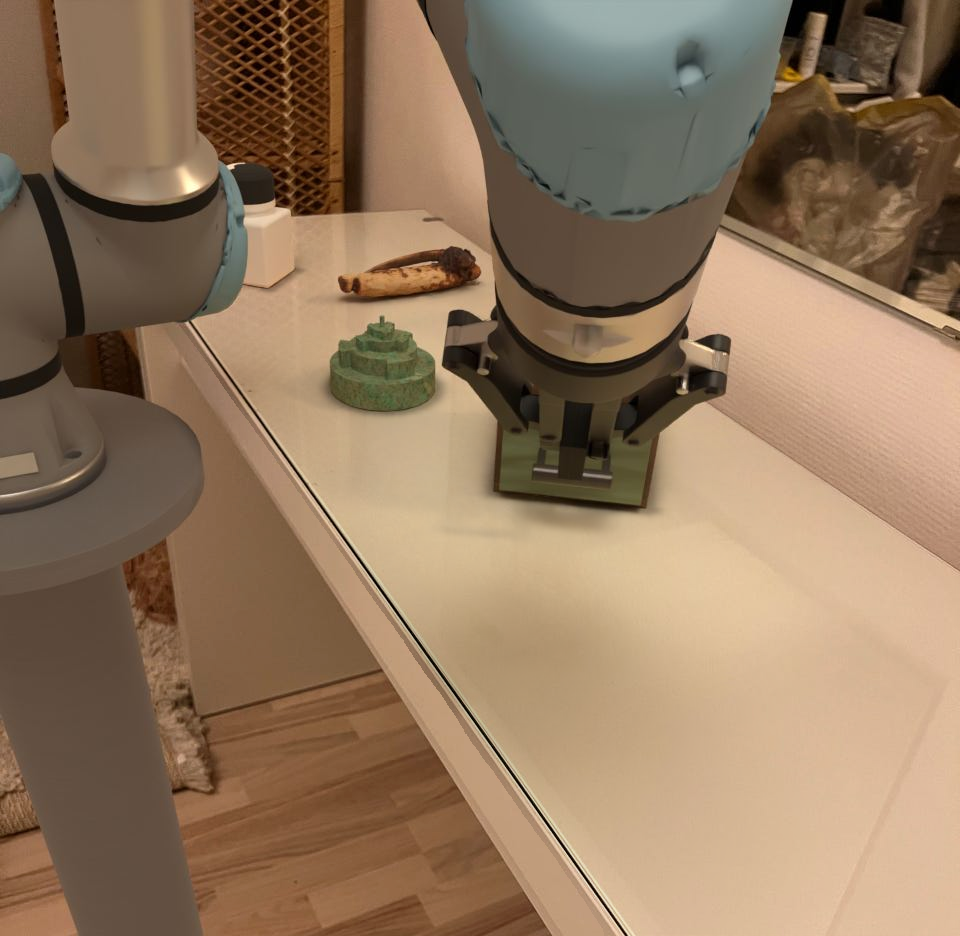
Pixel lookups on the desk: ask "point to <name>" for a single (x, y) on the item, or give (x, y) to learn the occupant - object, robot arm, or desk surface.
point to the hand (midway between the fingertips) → (572, 457)
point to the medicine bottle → (264, 226)
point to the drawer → (601, 480)
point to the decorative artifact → (382, 370)
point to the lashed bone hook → (414, 274)
